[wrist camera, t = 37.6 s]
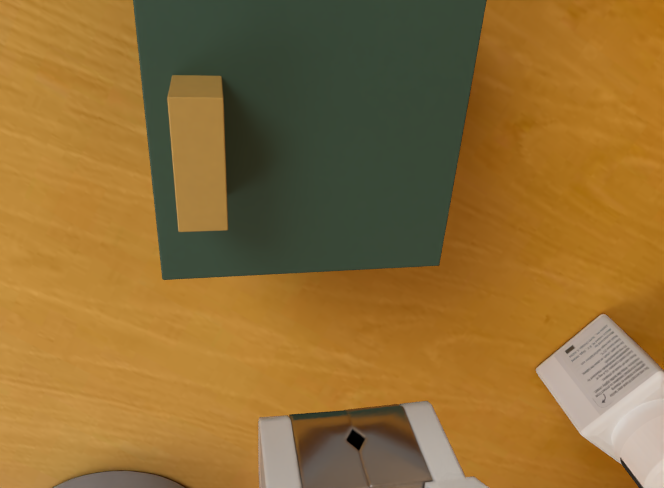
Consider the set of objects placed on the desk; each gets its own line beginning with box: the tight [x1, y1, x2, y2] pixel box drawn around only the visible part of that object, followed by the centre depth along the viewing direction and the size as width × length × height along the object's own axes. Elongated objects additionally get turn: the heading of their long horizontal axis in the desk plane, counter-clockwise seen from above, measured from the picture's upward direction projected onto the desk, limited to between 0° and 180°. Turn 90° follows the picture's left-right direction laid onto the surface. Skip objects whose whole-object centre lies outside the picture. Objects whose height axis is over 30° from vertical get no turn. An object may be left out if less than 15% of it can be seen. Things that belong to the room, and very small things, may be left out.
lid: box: [133, 0, 487, 280], centre depth 22 cm, size 13×13×4 cm
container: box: [536, 314, 664, 488], centre depth 45 cm, size 8×8×13 cm
